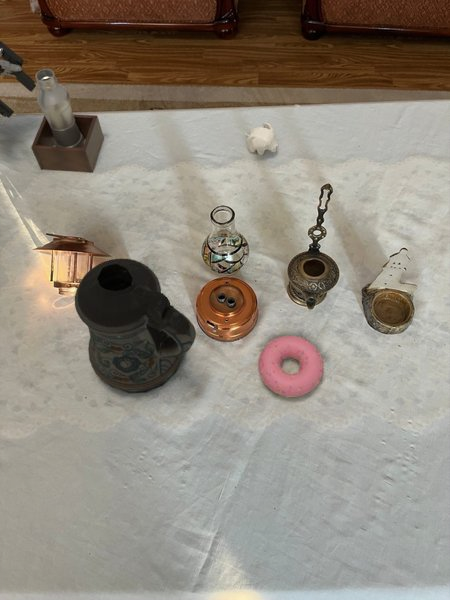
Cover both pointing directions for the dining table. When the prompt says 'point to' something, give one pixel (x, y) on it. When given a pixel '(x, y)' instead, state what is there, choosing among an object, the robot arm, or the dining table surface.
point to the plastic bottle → (58, 110)
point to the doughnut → (293, 382)
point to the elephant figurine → (262, 139)
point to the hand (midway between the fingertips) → (23, 101)
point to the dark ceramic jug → (131, 326)
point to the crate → (69, 156)
